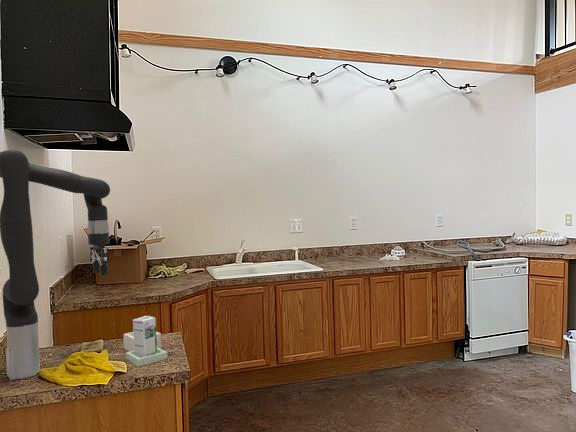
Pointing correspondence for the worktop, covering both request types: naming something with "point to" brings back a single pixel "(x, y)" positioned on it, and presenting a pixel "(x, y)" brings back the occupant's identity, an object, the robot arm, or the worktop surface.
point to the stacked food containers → (130, 341)
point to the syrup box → (145, 336)
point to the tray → (148, 359)
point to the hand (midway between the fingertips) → (100, 273)
